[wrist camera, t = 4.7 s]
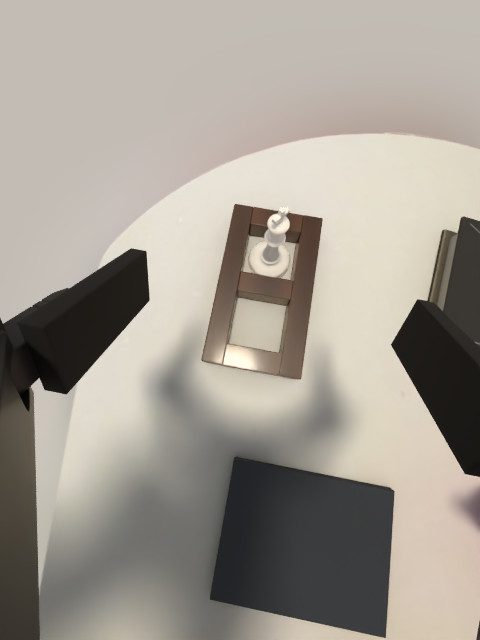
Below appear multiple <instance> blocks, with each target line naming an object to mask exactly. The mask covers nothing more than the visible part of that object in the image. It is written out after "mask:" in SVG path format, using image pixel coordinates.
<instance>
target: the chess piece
mask: <svg viewBox="0 0 480 640" xmlns="http://www.w3.org/2000/svg"><path fill="white" fill-rule="evenodd" d="M289 211H290V210H289V209H288V208H287V207H285V208H283V207H281V208H280V209H279V210H278V214H274V215H272V216H271V217H270V218H269V219H268V222H267V225H268V230H267V231H266V232H265V235H264V239H265V240H264V241H261V242H259V243H257V244H256V245H255V246H254V247H253V248H252V250H251V252H250V254H249V258H248V263H249V267H250V269H251V271H252V272H253V273H254V274H258V275H264V276H269V277H275V278H280V277H282V276H283V275H284V274H285V273H286V271H287V270H288V267H289V263H290V256H289V253H288V251H287V249H286V248H285V246H284V245H283V244H284V242H285V240H286V235H285V232H287V230H288V229H289V226H290V222H289V219H288V218H287V217H286V215H287V214H288V213H289Z"/></svg>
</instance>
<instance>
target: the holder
mask: <svg viewBox="0 0 480 640" xmlns="http://www.w3.org/2000/svg"><path fill="white" fill-rule="evenodd" d="M274 214H278V211H274V210H268V209H262V208H256V207H254V208H253V207H250V206H244V205H238V204H235V205H234V210H233V214H232V219H231V224H230V228H229V233H228V238H227V243H226V247H225V252H224V257H223V261H222V266H221V271H220V275H219V280H218V285H217V289H216V294H215V299H214V304H213V308H212V313H211V318H210V322H209V327H208V332H207V336H206V341H205V346H204V350H203V355H202V361H204V362H208V363H214V364H219V365H224V366H230V367H235V368H240V369H245V370H251V371H256V372H261V373H267V374H272V375H277V376H283V377H288V378H293V379H301V375H302V367H303V360H304V353H305V345H306V338H307V330H308V323H309V315H310V308H311V301H312V293H313V286H314V278H315V271H316V264H317V256H318V249H319V241H320V234H321V227H322V218H317V217H311V216H305V215H304V216H303V215H298V214H292V213H288V214H287V215H286V217H287V218H288V219H289V222H290V226H289V229H288V230H287V232H285V235H286V240H285V241H288V242H294V243H296V248H295V255H294V261H293V268H292V274H291V280H286V279H281V278H275V277H269V276H264V275H258V274H252V273H247V272H242V270H243V265H244V260H245V254H246V249H247V244H248V239H249V234H250V235H253V236H259V237H264V235H265V232H266V231H267V230H268V225H267V222H268V219H269V218H270V217H271V216H272V215H274ZM237 296H238V297H242V298H247V299H253V300H259V301H264V302H270V303H275V304H281V305H287V306H286V313H285V319H284V326H283V332H282V339H281V345H280V352H279V353H276V352H271V351H265V350H260V349H255V348H249V347H244V346H238V345H233V344H228V342H229V336H230V331H231V326H232V321H233V316H234V311H235V306H236V301H237Z"/></svg>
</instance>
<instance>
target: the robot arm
mask: <svg viewBox="0 0 480 640" xmlns="http://www.w3.org/2000/svg"><path fill="white" fill-rule="evenodd" d="M148 301H149V285H148V269H147V254H146V251H142V250H137V249H130V250H128V251H126V252H125V253H123V254H122V255H120V256H119V257H117V258H116V259H114V260H113V261H111V262H110V263H108V264H106V265H105V266H103V267H102V268H100V269H99V270H97V271H96V272H94V273H93V274H91V275H90V276H88V277H86V278H85V279H83V280H82V281H80V282H79V283H77V284H76V285H74V286H73V287H71V288H69V289H68V288H66V289H63V290H60V291H57V292H54V293H52V294H50V295H49V296H47V297H46V298H44V299H42V301H39V302H38V303H36V304H35V305H33V307H30V308H28V309H26V310H25V311H23V312H22V313H20V314H18V315H17V316H15V317H14V318H12V319H10V320H9V321H7V322H5V323H4V324H3V323H2V321H1V319H0V640H40V626H39V587H38V547H37V511H36V510H37V508H36V470H35V469H36V468H35V430H34V393H33V391H32V388H31V385H32V384H33V383H34V382H35V381H36V380H37V379H38V378H40V380H41V382H42V385H43V387H44V389H45V390H47V391H53V392H58V393H62V394H67V393H68V392H69V391H70V390H71V389H72V388H73V386H74V385H75V384H76V383H77V382H78V381H79V380H80V379H81V377H82V376H83V375H84V374H85V373H86V372H87V371H88V370H89V368H90V367H91V366H92V365H93V364H94V363H95V362H96V360H97V359H98V358H99V357H100V356H101V355H102V354H103V353H104V351H105V350H106V349H107V348H108V347H109V346H110V345H111V343H112V342H113V341H114V340H115V339H116V338H117V337H118V335H119V334H120V333H121V332H122V331H123V330H124V329H125V328H126V326H127V325H128V324H129V323H130V322H131V321H132V320H133V318H134V317H135V316H136V315H137V314H138V313H139V312H140V310H141V309H142V308H143V307H144V306H145V305H146V304H147V303H148ZM391 346H392V347H393V349H394V351H395V352H396V354H397V356H398V358H399V359H400V361H401V363H402V365H403V366H404V368H405V370H406V372H407V373H408V375H409V377H410V379H411V380H412V382H413V384H414V386H415V387H416V389H417V391H418V393H419V394H420V396H421V398H422V400H423V401H424V403H425V405H426V407H427V408H428V410H429V412H430V414H431V415H432V417H433V419H434V421H435V422H436V424H437V426H438V428H439V429H440V431H441V433H442V435H443V436H444V438H445V440H446V442H447V443H448V445H449V447H450V449H451V450H452V452H453V454H454V456H455V457H456V459H457V461H458V463H459V464H460V466H461V468H462V470H463V471H464V473H465V474H468V475H473V476H478V477H480V347H479V346H478V345H477V344H476V343H475V342H474V341H473V340H472V339H471V338H470V337H469V336H468V335H467V334H466V333H465V332H464V331H463V330H462V329H461V328H460V327H459V326H457V325H456V324H455V323H454V322H453V321H452V320H451V319H450V318H449V317H448V316H447V315H446V314H445V313H444V312H443V311H442V310H441V309H440V308H439V307H438V306H437V305H436V304H435V303H434V302H429V301H423V300H418V299H417V301H416V303H415V305H414V306H413V308H412V310H411V311H410V313H409V315H408V317H407V318H406V320H405V322H404V324H403V325H402V327H401V329H400V330H399V332H398V334H397V336H396V337H395V339H394V341H393V342H392V344H391ZM476 640H480V622H479V628H478V634H477V639H476Z"/></svg>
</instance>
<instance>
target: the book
mask: <svg viewBox="0 0 480 640" xmlns="http://www.w3.org/2000/svg"><path fill="white" fill-rule="evenodd" d="M428 301H429V302H434V303H435V304H436V305H437V306H438V307H439V308H440V309H441V310H442V311H443V312H444V313H445V314H446V315H447V316H448V317H449V318H450V319H451V320H452V321H453V322H454V323H455V324H456V325H457V326H459V327H460V328H461V329H462V330H463V331H464V332H465V333H466V334H467V335H468V336H469V337H470V338H471V339H472V340H473V341H474V342H475V343H476V344H477V345H478V346H479V347H480V221H477V220H474V219H470V218H467V217H462V218H461V220H460V225H459V231H458V233H455V232H452V231H448V230H443V232H442V237H441V242H440V247H439V252H438V256H437V261H436V266H435V271H434V276H433V281H432V285H431V290H430V295H429V300H428Z"/></svg>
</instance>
